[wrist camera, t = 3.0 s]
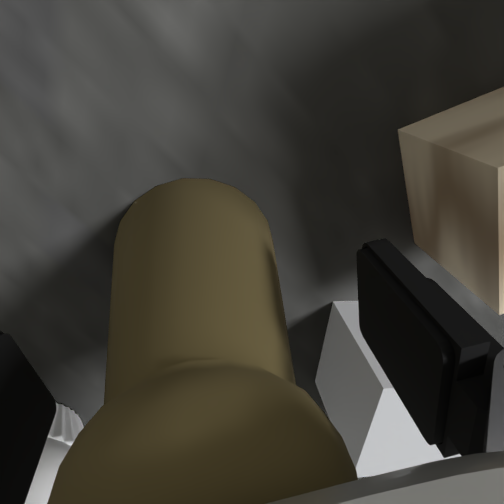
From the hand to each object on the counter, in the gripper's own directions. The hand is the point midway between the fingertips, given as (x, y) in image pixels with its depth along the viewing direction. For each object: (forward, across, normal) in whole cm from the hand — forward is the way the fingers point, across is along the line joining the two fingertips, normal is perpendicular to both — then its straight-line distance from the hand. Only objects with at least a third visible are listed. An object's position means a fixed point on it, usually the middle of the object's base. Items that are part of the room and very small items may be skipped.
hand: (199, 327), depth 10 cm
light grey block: (+5, -7, +7) cm, 11 cm away
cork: (+5, 0, 0) cm, 5 cm away
